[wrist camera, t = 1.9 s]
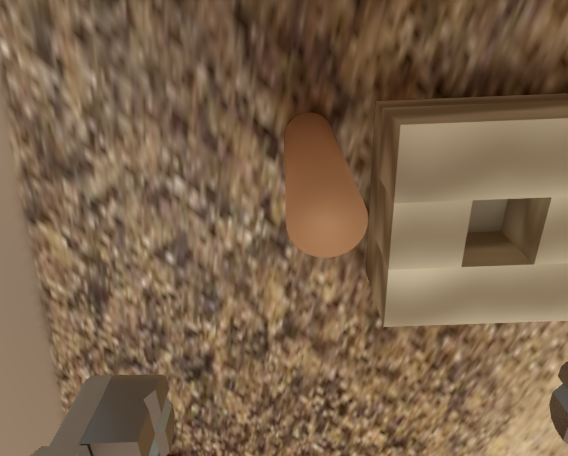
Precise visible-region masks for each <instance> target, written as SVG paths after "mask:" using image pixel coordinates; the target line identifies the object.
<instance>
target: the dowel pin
mask: <svg viewBox="0 0 568 456" xmlns="http://www.w3.org/2000/svg"><path fill="white" fill-rule="evenodd" d="M284 150H285V196H286V227H287V232H288V235H289V237H290V239H291V241H292V242H293V243H294V244H295V246H296V247H298V248H299V249H300V250H301V251H303V252H305V253H306V254H309V255H311V256H315V257H321V258H328V257H335V256H339V255H342V254H344V253H346V252H348V251H350V250H351V249H353V248H354V247H355V246H356V245H357V244H358V243H359V242H360V241H361V239H362V238H363V236H364V234H365V232H366V229H367V225H368V213H367V209H366V206H365V204H364V202H363V199H362V197H361V195H360V192H359V190H358V188H357V185H356V183H355V181H354V179H353V176H352V174H351V172H350V169H349V167H348V165H347V162H346V160H345V158H344V155H343V153H342V151H341V148H340V146H339V144H338V141H337V139H336V137H335V134H334V132H333V130H332V128H331V125H330V124H329V122H328V121H327V120H326V119H325V118H324V117H323V116H321V115H319V114H317V113H312V112H306V113H302V114H299V115H297V116H295V117H294V118H293V119H292V120H291V121H290V122H289V123H288V125H287V127H286V129H285V134H284Z"/></svg>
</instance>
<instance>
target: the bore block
mask: <svg viewBox="0 0 568 456" xmlns="http://www.w3.org/2000/svg"><path fill="white" fill-rule="evenodd" d="M366 274H367V277H368V280H369V283H370V286H371V289H372V292H373V295H374V298H375V301H376V304H377V307H378V311H379V314H380V317H381V320H382V323H383V326H384V327H392V326H421V325H451V324H480V323H509V322H539V321H568V93H560V94H536V95H511V96H487V97H462V98H438V99H413V100H389V101H375V119H374V137H373V155H372V173H371V192H370V210H369V228H368V246H367V264H366Z"/></svg>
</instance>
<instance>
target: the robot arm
mask: <svg viewBox="0 0 568 456" xmlns="http://www.w3.org/2000/svg"><path fill="white" fill-rule="evenodd" d="M558 377H559V378H560V380H561V382H562V383H563V384H562V385H561V386H559V387H558V388H557V389H556V390H555V391H553V393H552V396H551V400H550V404H549V405H550V412H551V419H552V421H553V423H554V426H555V428H556V430H557V432H558V433H559V435H560V436H561V438H562V440H563V441H565V442H566V443H568V362H566V363H565V364H564V365H562V366H561V369H560V372H559V374H558ZM168 390H169V386H168V382H167V378H166V376H164V375H115V376H90V377H89V378H88V379H87V380H86V381H85V382H84V384H83V385H82V387H81V389H80V391H79V393H78V395H77V396H76V398H75V400H74V402H73V404H72V406H71V407H70V409H69V411H68V413H67V415H66V417H65V418H64V420H63V422H62V424H61V426H60V428H59V429H58V431H57V433H56V435H55V437H54V439H53V441H52V442H51V444H50V446H42V447H41V448H39V449H38V450H36V451H35V452H34V453H33V454H31V455H30V456H167V454H168V453H169V452H170V450H171V446H172V441H173V435H174V425H175V420H174V410H173V404H172V403H171V402H170V401H168V400H167V399H166V397H167V393H168Z"/></svg>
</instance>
